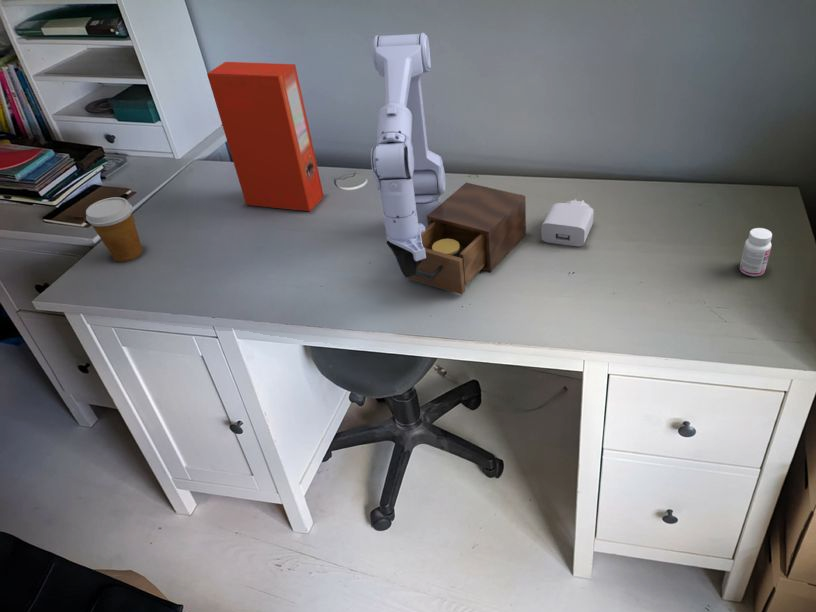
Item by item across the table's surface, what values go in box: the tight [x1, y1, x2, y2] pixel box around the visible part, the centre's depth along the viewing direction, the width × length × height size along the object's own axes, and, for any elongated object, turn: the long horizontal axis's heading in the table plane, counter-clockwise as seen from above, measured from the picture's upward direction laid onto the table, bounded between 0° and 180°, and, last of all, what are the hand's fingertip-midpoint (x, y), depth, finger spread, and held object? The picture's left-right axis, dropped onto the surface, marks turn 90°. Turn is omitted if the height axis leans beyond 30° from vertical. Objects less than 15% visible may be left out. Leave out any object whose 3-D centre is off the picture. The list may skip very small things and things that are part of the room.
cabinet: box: [427, 182, 527, 273], centre depth 149 cm, size 16×15×10 cm
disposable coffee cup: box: [85, 196, 143, 263], centre depth 155 cm, size 10×10×12 cm
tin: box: [432, 239, 460, 258], centre depth 141 cm, size 6×6×5 cm
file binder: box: [206, 61, 324, 212], centre depth 163 cm, size 8×17×32 cm, turn 73°
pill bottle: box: [739, 227, 773, 277], centre depth 136 cm, size 5×5×8 cm
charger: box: [541, 198, 595, 247], centre depth 154 cm, size 5×9×15 cm
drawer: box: [406, 221, 487, 295], centre depth 141 cm, size 19×13×8 cm
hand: (409, 274), depth 131 cm, fingers closed
